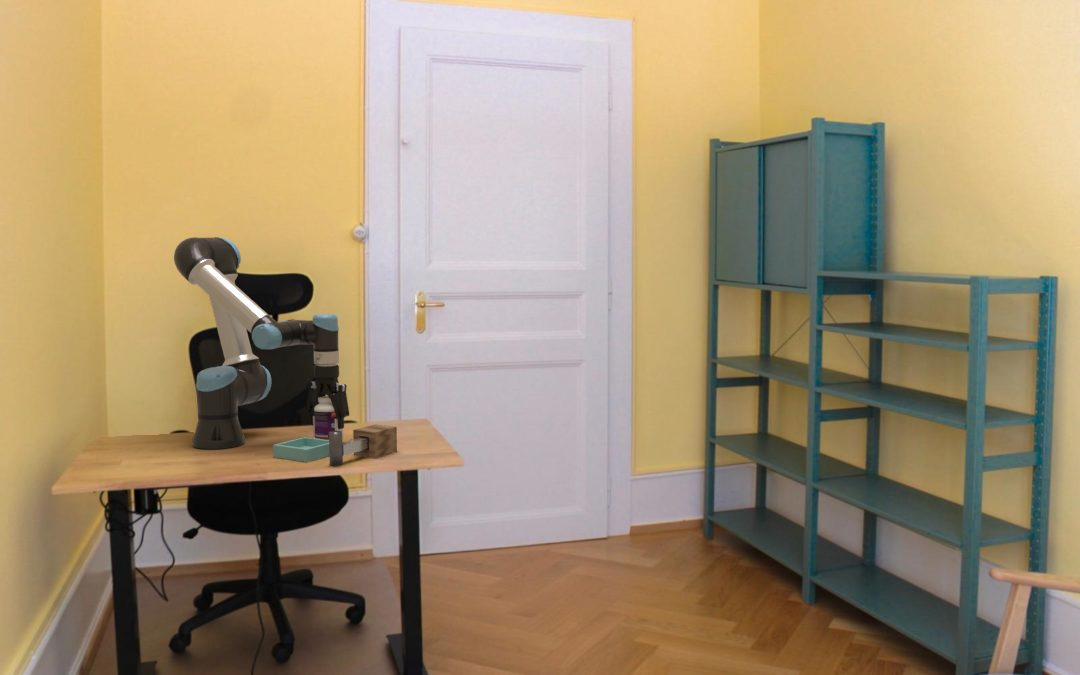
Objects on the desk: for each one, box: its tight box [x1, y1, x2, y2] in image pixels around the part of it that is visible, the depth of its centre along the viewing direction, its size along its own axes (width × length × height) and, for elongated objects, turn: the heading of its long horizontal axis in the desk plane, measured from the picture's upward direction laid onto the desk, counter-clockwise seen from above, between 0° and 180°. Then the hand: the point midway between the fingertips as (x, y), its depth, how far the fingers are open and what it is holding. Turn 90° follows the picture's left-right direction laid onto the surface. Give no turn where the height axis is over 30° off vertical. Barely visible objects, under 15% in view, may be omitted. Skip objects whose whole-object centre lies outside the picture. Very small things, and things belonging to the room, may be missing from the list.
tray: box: [272, 436, 329, 463], centre depth 279 cm, size 13×13×4 cm
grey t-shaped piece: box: [328, 431, 369, 466], centre depth 272 cm, size 17×4×9 cm, turn 150°
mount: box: [352, 423, 398, 459], centre depth 281 cm, size 10×8×8 cm
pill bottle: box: [314, 395, 336, 440], centre depth 295 cm, size 8×8×14 cm
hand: (328, 437), depth 296 cm, fingers closed on pill bottle, 8 cm apart
